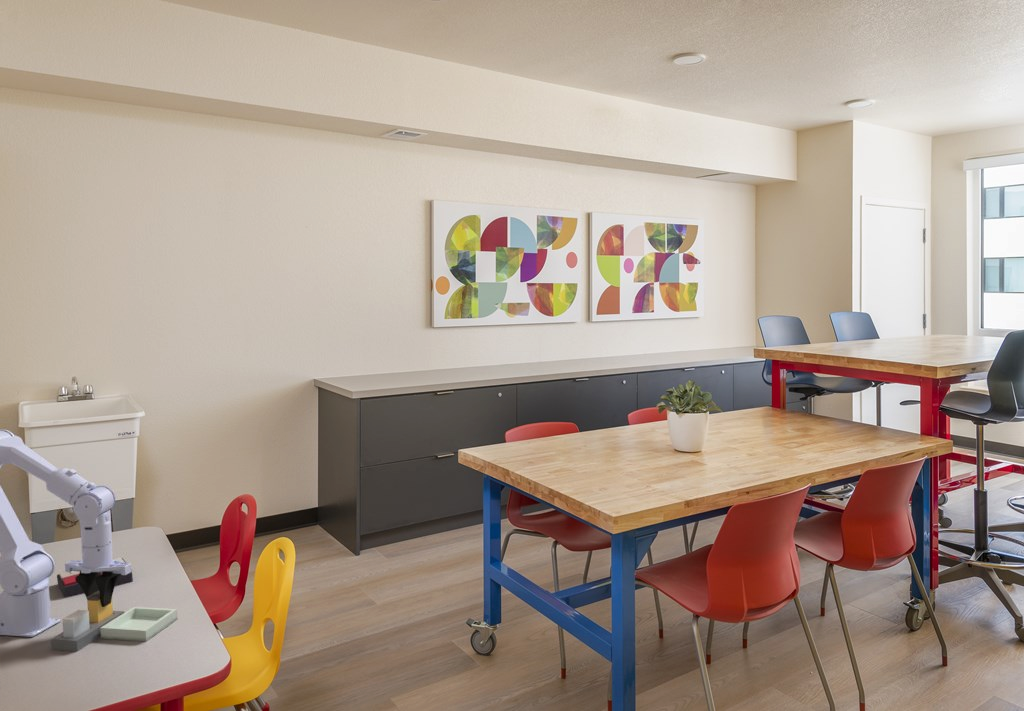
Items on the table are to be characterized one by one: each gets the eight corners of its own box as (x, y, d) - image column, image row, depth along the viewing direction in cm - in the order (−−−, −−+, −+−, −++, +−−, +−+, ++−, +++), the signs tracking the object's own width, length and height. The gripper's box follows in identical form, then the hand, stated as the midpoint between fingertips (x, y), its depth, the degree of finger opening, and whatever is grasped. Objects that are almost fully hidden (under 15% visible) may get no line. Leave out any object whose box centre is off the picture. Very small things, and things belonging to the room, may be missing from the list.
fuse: (64, 647, 146) (62, 619, 146) (80, 637, 150) (78, 609, 150) (74, 647, 146) (72, 619, 145) (90, 637, 150) (88, 610, 150)
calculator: (56, 571, 179) (122, 554, 189) (58, 588, 180) (123, 570, 189) (62, 584, 171) (131, 566, 180) (65, 601, 171) (133, 582, 181)
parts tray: (100, 638, 150) (100, 627, 150) (134, 616, 160) (134, 606, 160) (146, 641, 148) (145, 630, 148) (177, 619, 159) (177, 609, 158)
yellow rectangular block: (88, 623, 153) (87, 596, 152) (103, 614, 157) (101, 588, 157) (98, 624, 153) (97, 597, 152) (112, 615, 157) (111, 589, 156)
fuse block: (51, 649, 145) (50, 639, 145) (100, 619, 159) (100, 609, 159) (77, 651, 144) (76, 640, 144) (124, 620, 158) (124, 611, 158)
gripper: (52, 548, 151) (56, 610, 152) (114, 551, 149) (117, 614, 150) (77, 537, 158) (80, 596, 159) (136, 540, 156) (139, 600, 157)
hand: (100, 604), depth 155 cm, fingers closed on yellow rectangular block, 2 cm apart
